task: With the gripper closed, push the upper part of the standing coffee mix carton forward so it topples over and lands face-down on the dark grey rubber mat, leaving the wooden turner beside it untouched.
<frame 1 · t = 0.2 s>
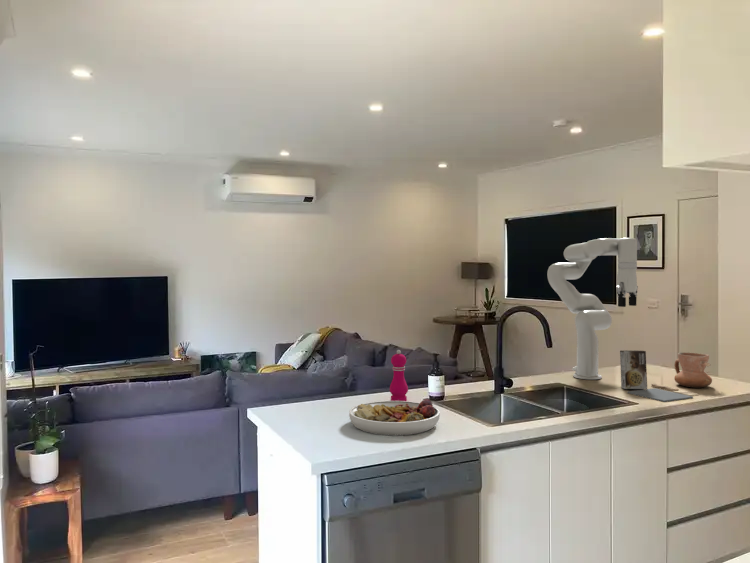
hand: (627, 306, 259), 35 cm above the worktop, tool pointing down, fingers open, 9 cm apart
bowl: (394, 426, 199), on the worktop
coffee box: (633, 389, 254), on the worktop, touching mat
turner: (676, 392, 249), on the worktop
mat: (659, 395, 242), on the worktop
pepper mill: (398, 401, 235), on the worktop
ceramic jug: (691, 386, 262), on the worktop
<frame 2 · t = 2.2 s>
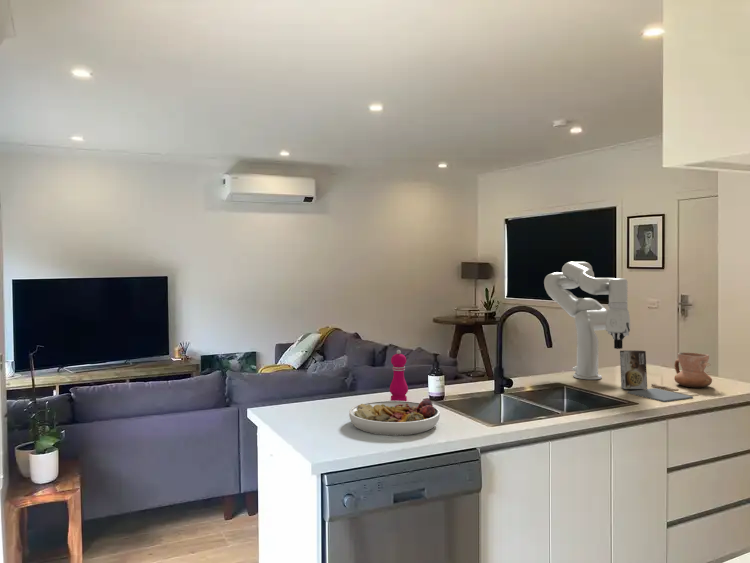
hand: (618, 348, 262), 16 cm above the worktop, tool pointing down, fingers closed
nothing on the worktop moved.
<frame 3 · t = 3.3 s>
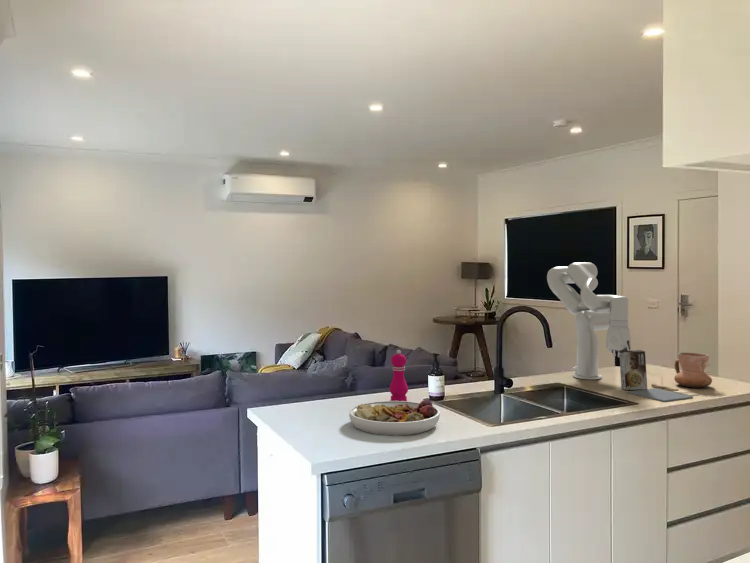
hand: (618, 366, 262), 9 cm above the worktop, tool pointing down, fingers closed
coffee box: (633, 389, 254), on the worktop, touching mat
everything else where it was.
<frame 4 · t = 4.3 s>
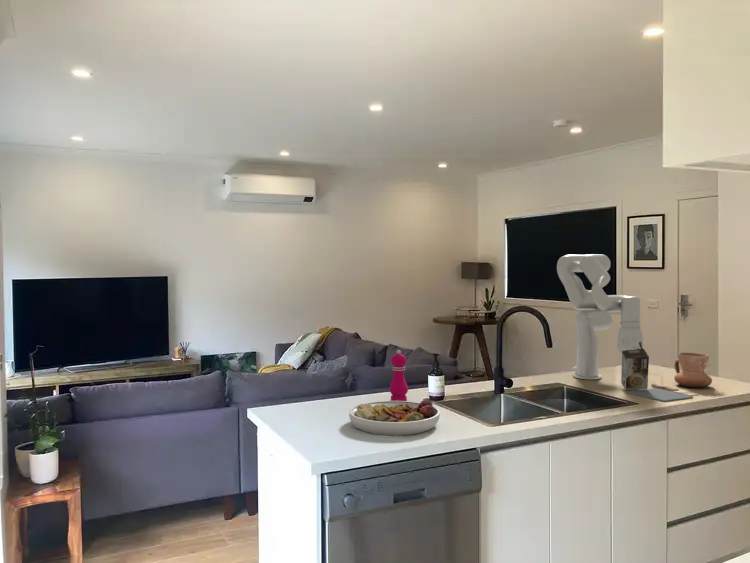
hand: (630, 367, 256), 9 cm above the worktop, tool pointing down, fingers closed
coffee box: (633, 386, 254), point 1 cm above the worktop, touching mat
everything else where it was.
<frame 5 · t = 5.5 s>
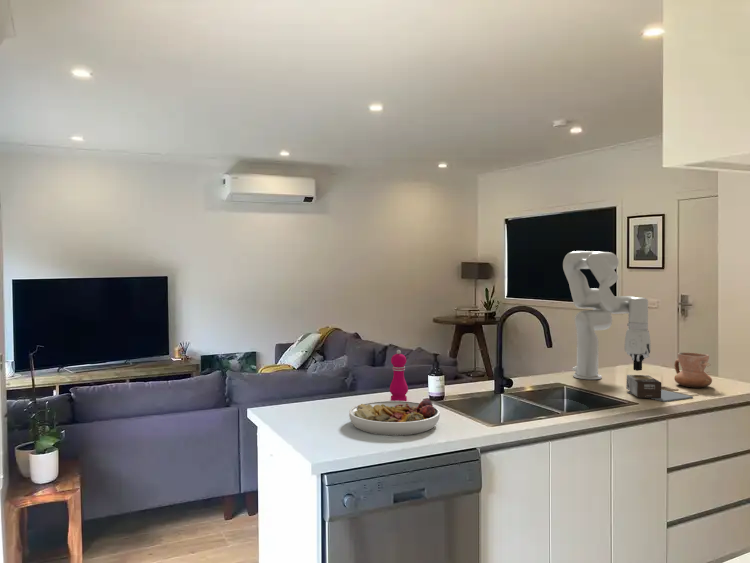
hand: (637, 370, 252), 9 cm above the worktop, tool pointing down, fingers closed
coffee box: (637, 381, 251), point 4 cm above the worktop, touching mat
everything else where it was.
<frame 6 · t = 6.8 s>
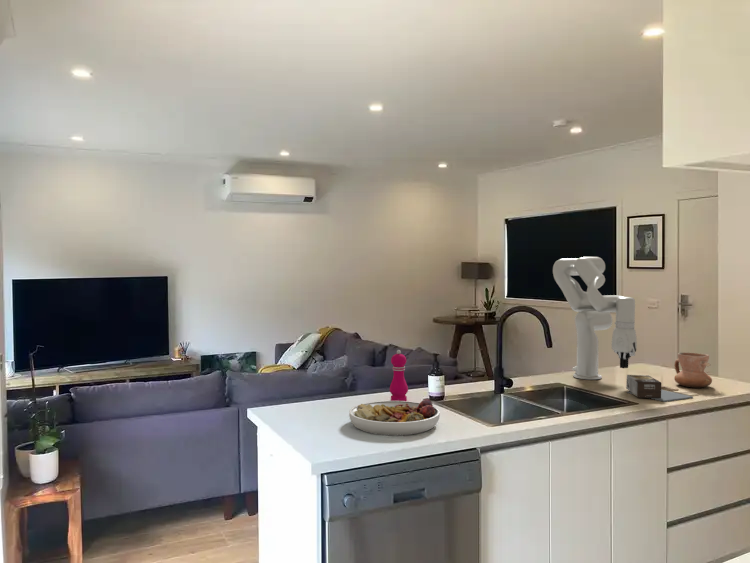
hand: (624, 367, 259), 8 cm above the worktop, tool pointing down, fingers closed
nothing on the worktop moved.
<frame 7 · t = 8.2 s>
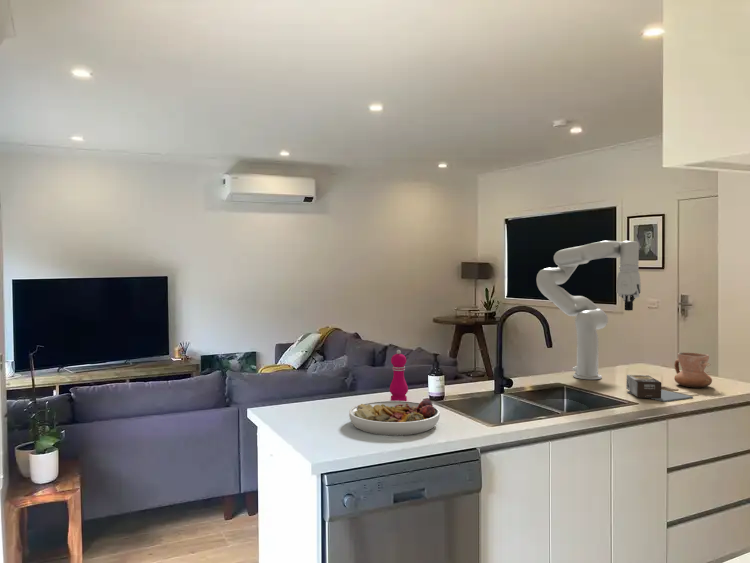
hand: (628, 310, 266), 33 cm above the worktop, tool pointing down, fingers closed
nothing on the worktop moved.
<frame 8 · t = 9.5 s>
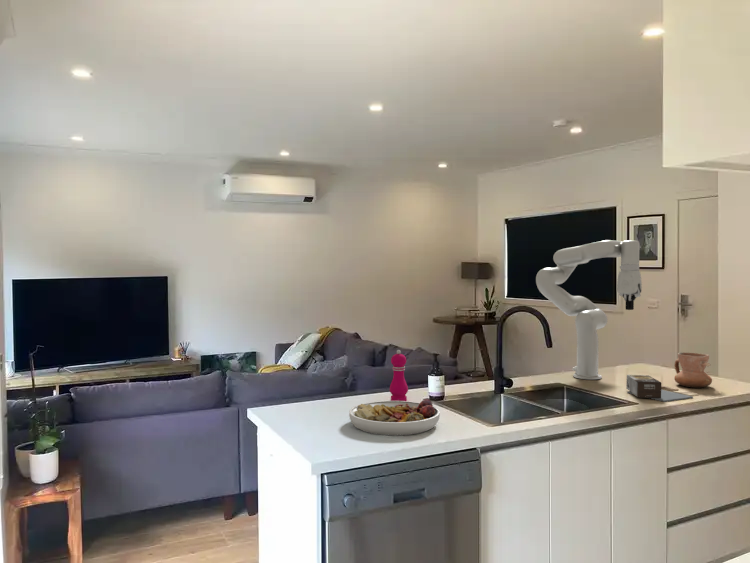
hand: (629, 309, 266), 33 cm above the worktop, tool pointing down, fingers closed
nothing on the worktop moved.
at the end: coffee box tilted 90°; coffee box inside the target area (10.3 cm from its centre), point 3.8 cm above the worktop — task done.
